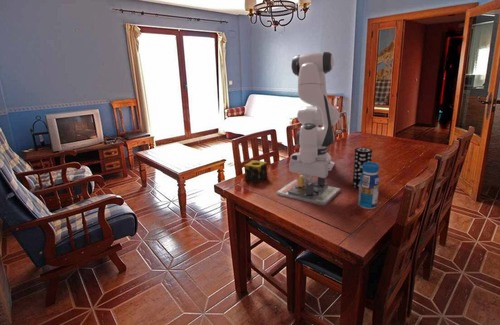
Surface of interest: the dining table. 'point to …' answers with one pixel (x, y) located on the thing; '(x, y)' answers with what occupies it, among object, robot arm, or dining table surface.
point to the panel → (318, 197)
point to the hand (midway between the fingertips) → (307, 182)
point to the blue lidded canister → (369, 185)
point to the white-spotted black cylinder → (360, 163)
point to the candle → (256, 171)
